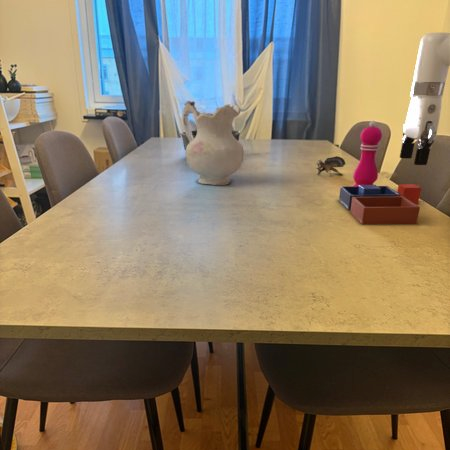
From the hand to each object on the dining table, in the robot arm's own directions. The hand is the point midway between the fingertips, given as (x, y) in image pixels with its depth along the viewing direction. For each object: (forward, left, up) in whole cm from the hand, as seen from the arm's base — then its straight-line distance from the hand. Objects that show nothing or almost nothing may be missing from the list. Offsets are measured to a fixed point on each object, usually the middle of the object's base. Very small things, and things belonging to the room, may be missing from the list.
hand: (412, 161), depth 116 cm
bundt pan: (+56, -82, -11) cm, 100 cm away
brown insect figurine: (+13, -38, -11) cm, 41 cm away
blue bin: (+12, +3, -11) cm, 16 cm away
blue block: (+12, +3, -10) cm, 16 cm away
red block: (0, 0, -11) cm, 11 cm away
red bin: (+12, +15, -11) cm, 22 cm away
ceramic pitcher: (+55, -30, -11) cm, 63 cm away
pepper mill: (+8, -14, -11) cm, 19 cm away
